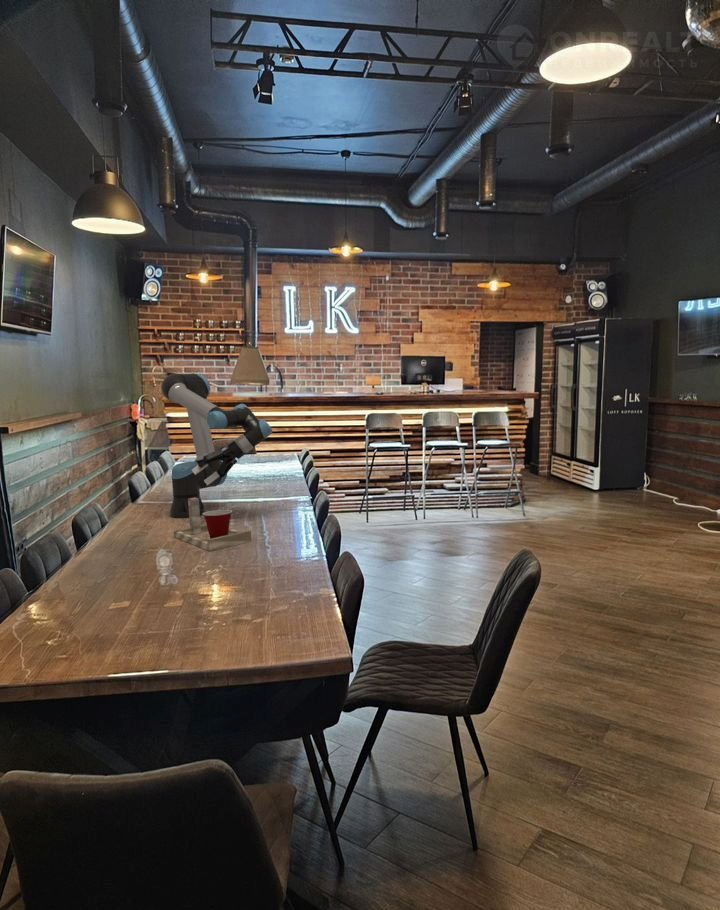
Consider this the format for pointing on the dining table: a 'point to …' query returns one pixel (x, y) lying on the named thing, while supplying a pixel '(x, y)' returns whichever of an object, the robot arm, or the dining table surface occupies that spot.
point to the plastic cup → (217, 522)
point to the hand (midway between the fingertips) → (199, 478)
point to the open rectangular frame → (195, 528)
